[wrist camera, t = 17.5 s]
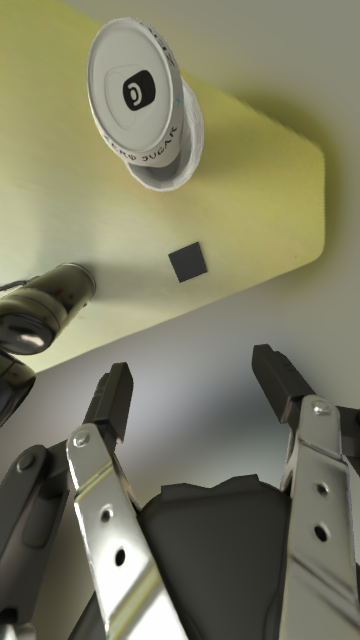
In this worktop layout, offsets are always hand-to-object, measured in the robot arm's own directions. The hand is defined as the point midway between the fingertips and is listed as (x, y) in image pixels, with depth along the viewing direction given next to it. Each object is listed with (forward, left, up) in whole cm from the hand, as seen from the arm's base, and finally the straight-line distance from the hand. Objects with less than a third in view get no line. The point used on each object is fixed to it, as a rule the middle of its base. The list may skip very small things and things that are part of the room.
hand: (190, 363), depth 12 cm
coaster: (+3, -3, -34) cm, 34 cm away
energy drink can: (0, +16, -22) cm, 27 cm away
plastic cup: (0, +16, -34) cm, 38 cm away
